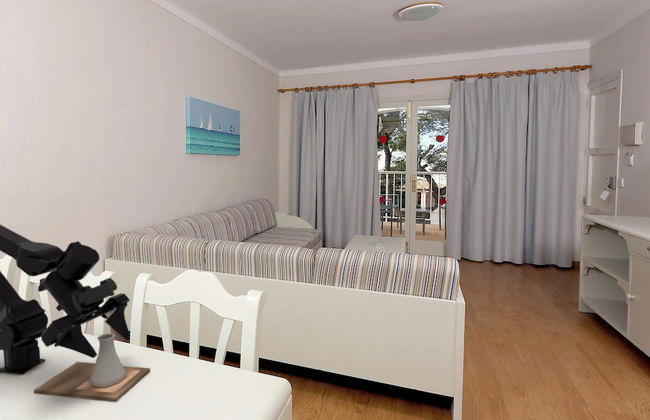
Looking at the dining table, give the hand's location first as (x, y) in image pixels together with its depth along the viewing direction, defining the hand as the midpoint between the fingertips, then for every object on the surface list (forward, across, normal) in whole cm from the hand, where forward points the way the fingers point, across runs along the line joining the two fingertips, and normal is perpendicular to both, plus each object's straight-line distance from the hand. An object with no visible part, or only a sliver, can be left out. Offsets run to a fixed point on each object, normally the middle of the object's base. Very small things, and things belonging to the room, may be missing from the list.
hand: (112, 346), depth 85 cm
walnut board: (+3, 0, +10) cm, 10 cm away
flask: (+5, 0, +7) cm, 8 cm away
